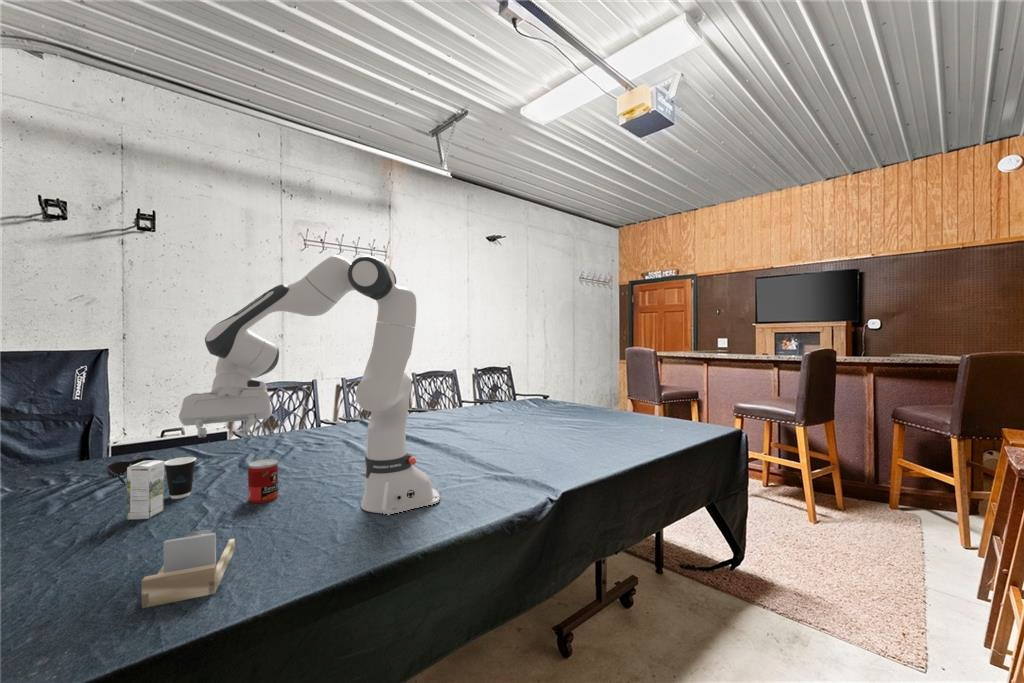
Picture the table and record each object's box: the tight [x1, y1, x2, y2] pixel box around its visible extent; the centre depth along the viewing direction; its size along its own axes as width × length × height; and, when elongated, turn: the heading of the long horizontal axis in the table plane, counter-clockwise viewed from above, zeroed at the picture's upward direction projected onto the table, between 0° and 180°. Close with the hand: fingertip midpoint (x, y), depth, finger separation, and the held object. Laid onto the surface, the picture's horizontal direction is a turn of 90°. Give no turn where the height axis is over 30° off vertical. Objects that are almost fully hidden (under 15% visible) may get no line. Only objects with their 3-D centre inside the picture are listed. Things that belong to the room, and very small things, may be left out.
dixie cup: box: [164, 456, 197, 500], centre depth 131 cm, size 8×8×11 cm
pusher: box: [162, 532, 217, 573], centre depth 85 cm, size 1×8×8 cm, turn 113°
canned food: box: [247, 458, 279, 504], centre depth 129 cm, size 8×8×11 cm
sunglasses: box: [106, 456, 158, 484], centre depth 150 cm, size 14×16×5 cm
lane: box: [141, 538, 236, 609], centre depth 87 cm, size 18×11×5 cm, turn 23°
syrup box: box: [126, 459, 165, 521], centre depth 117 cm, size 6×6×14 cm
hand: (223, 433), depth 108 cm, fingers open, 8 cm apart
